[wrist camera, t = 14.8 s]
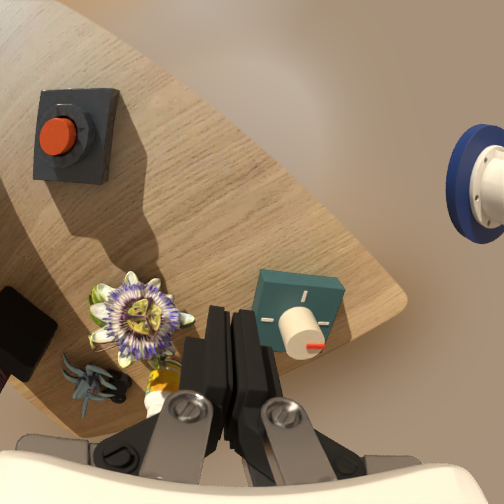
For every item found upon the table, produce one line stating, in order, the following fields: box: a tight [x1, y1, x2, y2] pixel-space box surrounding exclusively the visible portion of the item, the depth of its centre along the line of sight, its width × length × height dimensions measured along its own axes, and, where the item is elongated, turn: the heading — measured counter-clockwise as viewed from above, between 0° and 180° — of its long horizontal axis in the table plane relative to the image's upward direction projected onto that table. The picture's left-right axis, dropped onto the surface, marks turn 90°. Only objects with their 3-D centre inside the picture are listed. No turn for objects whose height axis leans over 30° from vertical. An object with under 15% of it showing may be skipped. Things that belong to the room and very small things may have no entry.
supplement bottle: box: [144, 359, 182, 418], centre depth 36 cm, size 5×5×10 cm
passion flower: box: [87, 271, 195, 370], centre depth 33 cm, size 11×11×12 cm
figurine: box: [61, 353, 132, 419], centre depth 37 cm, size 10×12×8 cm
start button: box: [40, 118, 77, 155], centre depth 23 cm, size 4×4×2 cm
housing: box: [33, 88, 119, 185], centre depth 25 cm, size 10×9×4 cm
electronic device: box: [0, 286, 57, 382], centre depth 30 cm, size 4×10×10 cm, turn 49°
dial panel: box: [252, 269, 345, 353], centre depth 37 cm, size 10×10×3 cm
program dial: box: [278, 307, 325, 360], centre depth 34 cm, size 4×4×5 cm
